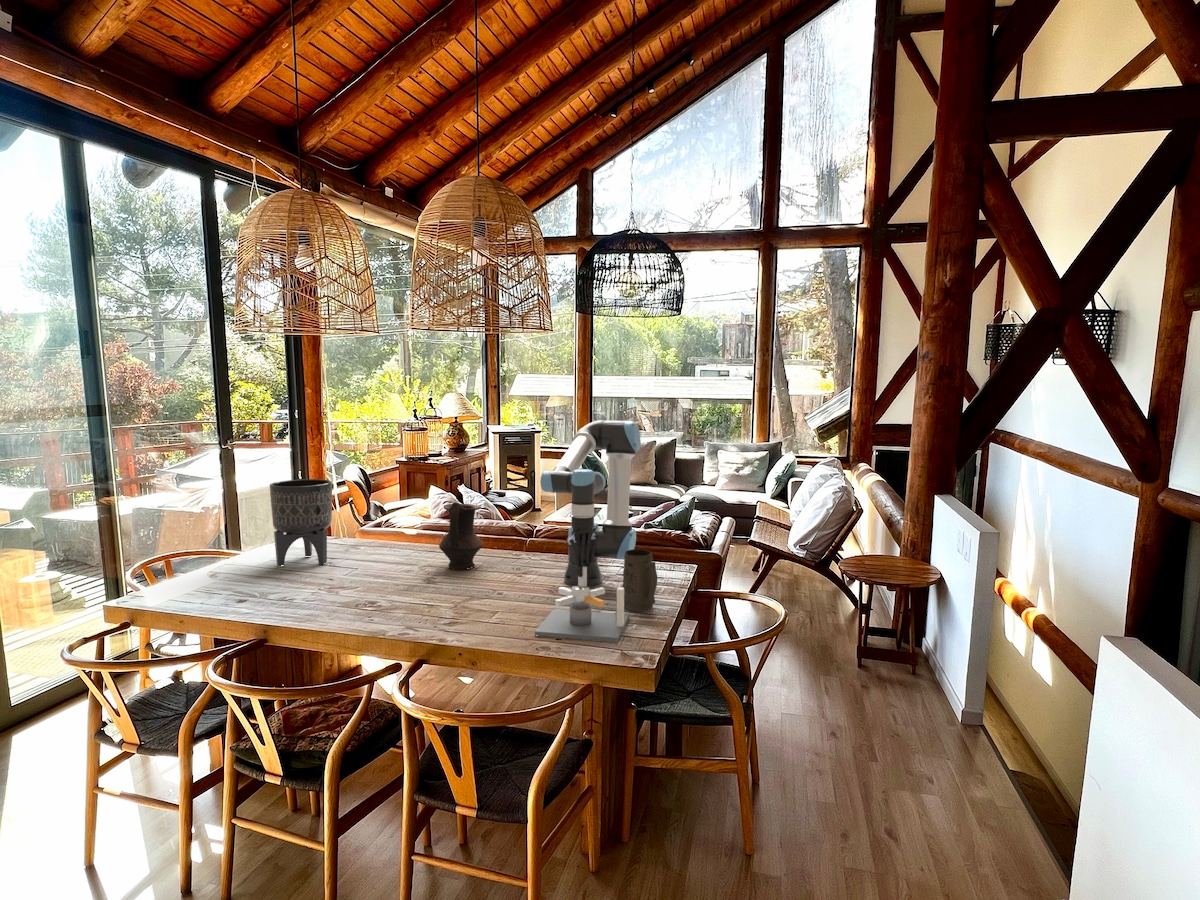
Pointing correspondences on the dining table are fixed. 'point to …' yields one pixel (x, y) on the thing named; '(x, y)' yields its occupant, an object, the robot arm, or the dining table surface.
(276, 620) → the dining table surface
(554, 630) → the stand
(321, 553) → the planter
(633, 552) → the beer stein
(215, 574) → the dining table surface
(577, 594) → the capstan
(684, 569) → the dining table surface
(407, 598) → the dining table surface
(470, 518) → the jug
